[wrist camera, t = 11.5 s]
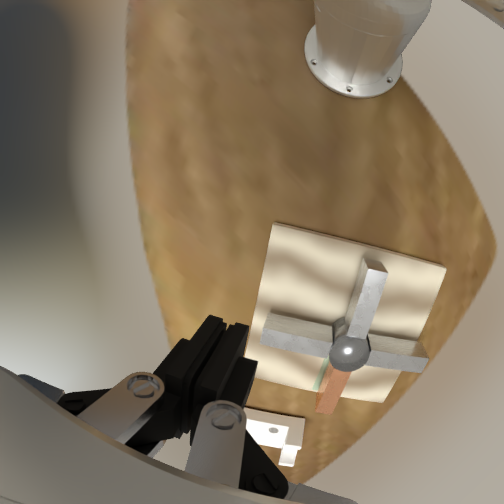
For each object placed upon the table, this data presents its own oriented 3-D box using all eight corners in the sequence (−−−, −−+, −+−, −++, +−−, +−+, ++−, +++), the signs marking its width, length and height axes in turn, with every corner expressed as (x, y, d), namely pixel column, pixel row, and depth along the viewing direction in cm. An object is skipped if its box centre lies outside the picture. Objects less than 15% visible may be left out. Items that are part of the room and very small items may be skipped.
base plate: (274, 222, 37) (272, 224, 36) (442, 265, 33) (447, 269, 32) (243, 367, 45) (240, 374, 43) (381, 396, 41) (382, 403, 39)
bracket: (305, 415, 45) (301, 446, 38) (297, 437, 47) (292, 466, 40) (234, 401, 48) (222, 430, 41) (232, 424, 50) (221, 452, 43)
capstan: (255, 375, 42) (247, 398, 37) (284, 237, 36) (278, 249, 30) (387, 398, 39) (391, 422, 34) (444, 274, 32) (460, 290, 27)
